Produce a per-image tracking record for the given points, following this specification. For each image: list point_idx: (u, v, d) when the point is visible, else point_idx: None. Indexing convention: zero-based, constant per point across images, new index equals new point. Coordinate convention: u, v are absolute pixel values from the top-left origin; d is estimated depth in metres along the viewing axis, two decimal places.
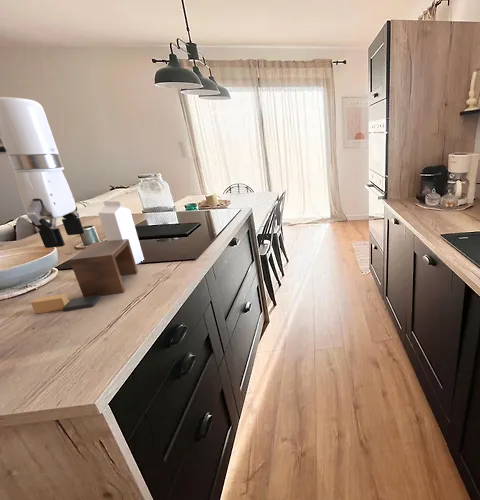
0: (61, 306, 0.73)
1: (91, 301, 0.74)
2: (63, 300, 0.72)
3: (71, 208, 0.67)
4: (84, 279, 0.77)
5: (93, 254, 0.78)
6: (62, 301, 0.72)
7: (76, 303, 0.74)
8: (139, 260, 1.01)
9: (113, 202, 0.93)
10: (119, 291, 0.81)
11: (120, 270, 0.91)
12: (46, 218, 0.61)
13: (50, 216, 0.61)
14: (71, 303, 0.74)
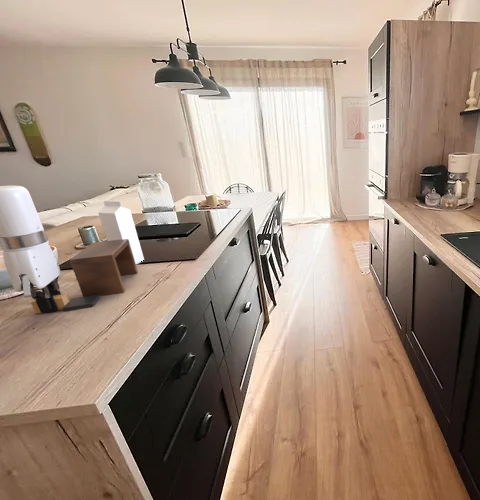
0: (61, 306, 0.73)
1: (91, 301, 0.74)
2: (63, 300, 0.72)
3: (56, 274, 0.73)
4: (84, 279, 0.77)
5: (93, 254, 0.78)
6: (62, 301, 0.72)
7: (76, 303, 0.74)
8: (139, 260, 1.01)
9: (113, 202, 0.93)
10: (119, 291, 0.81)
11: (120, 270, 0.91)
12: None
13: (42, 288, 0.69)
14: (71, 303, 0.74)
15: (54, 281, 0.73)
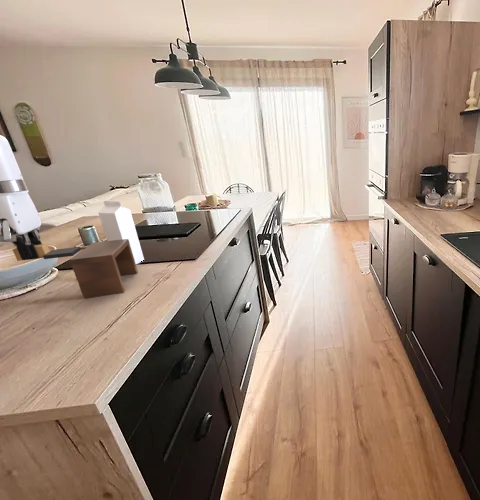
0: (42, 254, 0.76)
1: (71, 251, 0.78)
2: (43, 248, 0.76)
3: (36, 224, 0.76)
4: (84, 279, 0.77)
5: (93, 254, 0.78)
6: (42, 250, 0.76)
7: (56, 252, 0.78)
8: (139, 260, 1.01)
9: (113, 202, 0.93)
10: (119, 291, 0.81)
11: (120, 270, 0.91)
12: None
13: (22, 235, 0.73)
14: (52, 252, 0.78)
15: (35, 231, 0.77)
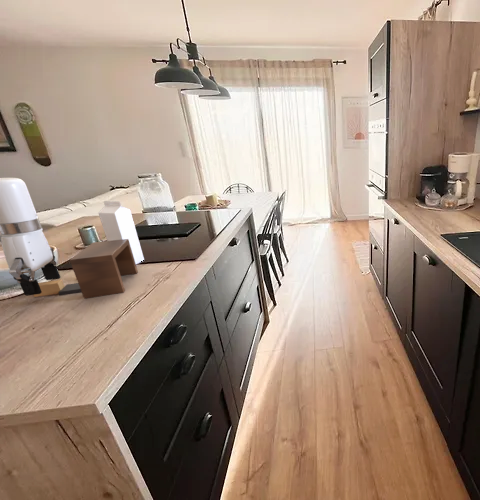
0: (57, 290, 0.80)
1: None
2: (58, 285, 0.80)
3: (48, 259, 0.80)
4: (84, 279, 0.77)
5: (93, 254, 0.78)
6: (58, 286, 0.80)
7: (70, 288, 0.82)
8: (139, 260, 1.01)
9: (113, 202, 0.93)
10: (119, 291, 0.81)
11: (120, 270, 0.91)
12: (26, 272, 0.74)
13: (29, 270, 0.74)
14: (66, 288, 0.82)
15: None
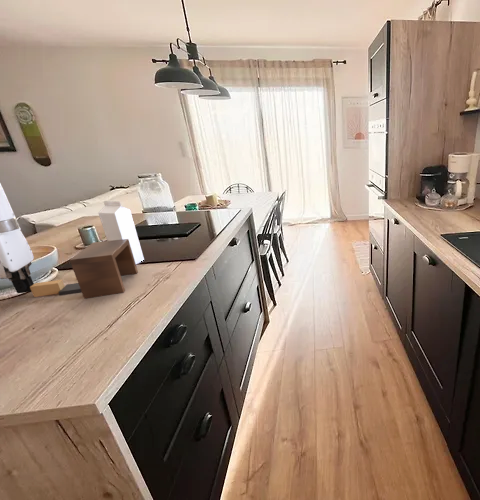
0: (57, 290, 0.80)
1: None
2: (58, 285, 0.80)
3: (28, 260, 0.78)
4: (84, 279, 0.77)
5: (93, 254, 0.78)
6: (58, 286, 0.80)
7: (70, 288, 0.82)
8: (139, 260, 1.01)
9: (113, 202, 0.93)
10: (119, 291, 0.81)
11: (120, 270, 0.91)
12: None
13: (16, 271, 0.75)
14: (67, 288, 0.82)
15: (25, 267, 0.78)
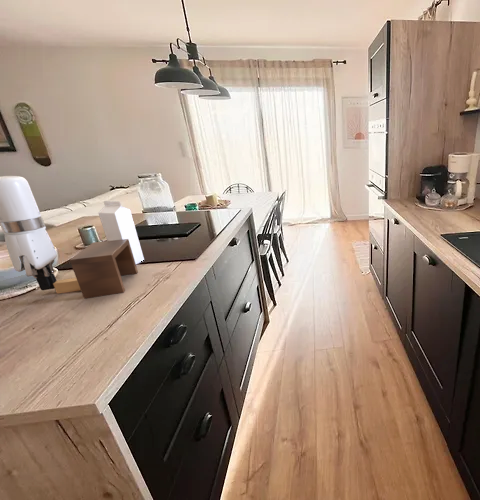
0: (79, 287, 0.82)
1: None
2: None
3: (52, 258, 0.80)
4: (84, 279, 0.77)
5: (93, 254, 0.78)
6: None
7: None
8: (139, 260, 1.01)
9: (113, 202, 0.93)
10: (119, 291, 0.81)
11: (120, 270, 0.91)
12: None
13: (41, 269, 0.77)
14: None
15: (49, 265, 0.79)
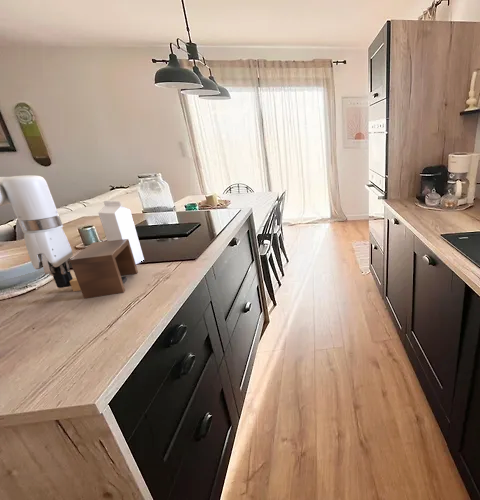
0: None
1: None
2: None
3: (68, 256, 0.81)
4: (84, 279, 0.77)
5: (93, 254, 0.78)
6: None
7: None
8: (139, 260, 1.01)
9: (113, 202, 0.93)
10: (119, 291, 0.81)
11: (120, 270, 0.91)
12: None
13: (58, 267, 0.78)
14: None
15: (65, 263, 0.81)
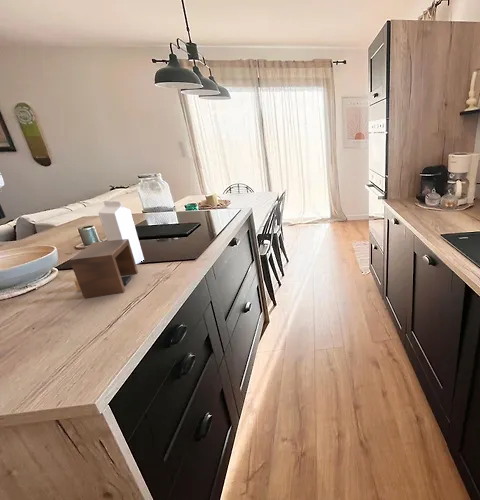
0: None
1: (125, 281, 0.86)
2: None
3: None
4: (84, 279, 0.77)
5: (93, 254, 0.78)
6: None
7: None
8: (139, 260, 1.01)
9: (113, 202, 0.93)
10: (119, 291, 0.81)
11: (120, 270, 0.91)
12: None
13: None
14: None
15: None
